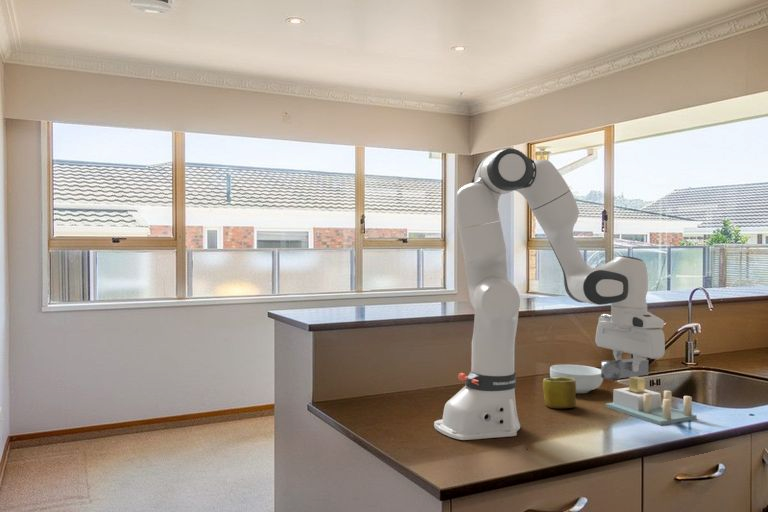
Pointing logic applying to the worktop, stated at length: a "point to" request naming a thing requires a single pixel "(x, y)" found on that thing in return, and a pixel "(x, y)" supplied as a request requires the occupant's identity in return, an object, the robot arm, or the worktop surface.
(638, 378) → the wooden bar
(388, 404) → the worktop surface
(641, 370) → the grey lever handle
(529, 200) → the robot arm
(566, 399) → the mug
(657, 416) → the jig plate
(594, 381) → the cereal bowl
